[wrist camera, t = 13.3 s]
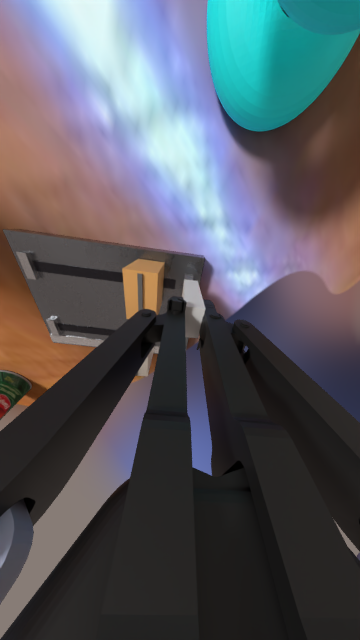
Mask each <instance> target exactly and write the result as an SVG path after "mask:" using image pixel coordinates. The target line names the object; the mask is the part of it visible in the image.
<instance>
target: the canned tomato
mask: <svg viewBox="0 0 360 640" xmlns="http://www.w3.org/2000/svg"><path fill="white" fill-rule="evenodd" d="M31 388H32V385H31V383H30V381H29V380H27V379H26V378H25V377H23V376H21V375H19V374H17V373H14V372H11V371H6V370H0V420H1V419H2V418H3V416H5V415H6V414H7V413H8V412H9V411H10V409H11V408H13V406H14V405H15V404H17V402H18V401H19V400H20V399H21V398H22V397H23V396H24V395H25V394H26V393H27V392H28V391H29V390H30V389H31Z"/></svg>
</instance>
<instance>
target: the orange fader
mask: <svg viewBox="0 0 360 640" xmlns="http://www.w3.org/2000/svg"><path fill="white" fill-rule="evenodd" d="M164 266H165V262H158V261H151V260H144V259H137V260H136V261H134V262H132V263H131V264H129V265H127V266H126V267H124V268H122V272H123V284H124V295H125V307H126V319H130V318H131V317H132V316H133V315H134V314H135V313H136V312H138V311H139V310H142V309H150V310H153V311H155V312H156V315H158V314H159V310H160V307H161V304H162V296H163V281H164Z"/></svg>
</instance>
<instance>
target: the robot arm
mask: <svg viewBox="0 0 360 640" xmlns="http://www.w3.org/2000/svg"><path fill="white" fill-rule="evenodd" d="M199 333H200V339H199V343H198V347H197V350H198V349H199V348H200V355H201V363H202V371H203V379H204V386H205V394H206V402H207V408H208V417H209V424H210V432H211V440H212V458H211V468H212V476H211V475H208V474H206V473H204V472H202V471H200V470H197V469H195V468H193V467H192V448H191V427H190V418H189V417H188V414H187V387H186V386H187V384H186V338H185V337H189V338H198V337H199ZM155 342H160V347H159V352H158V357H157V362H156V367H155V372H154V377H153V382H152V387H151V391H150V396H149V401H148V407H147V410H146V413H145V414H144V418H143V421H142V426H141V430H140V435H139V440H138V444H137V449H136V454H135V458H134V463H133V468H132V472H131V477H130V479H128V480H127V481H125V482H124V483H123V484H122V485H121V486H120V487H118V488H117V490H116V491H115V492H114V493H113V494H112V495H111V496H110V497H109V498H108V499H107V501H106V502H105V503H104V504H103V506H102V507H101V508H100V510H99V511H98V512H97V514H96V515H95V516H94V518H93V519H92V520H91V521H90V523H89V524H88V525H87V527H86V528H85V529H84V531H83V532H82V533H81V534H80V536H79V537H78V538H77V540H76V541H75V542H74V544H73V545H72V546H71V547H70V549H69V550H68V551H67V553H66V554H65V556H64V557H63V558H62V559H61V561H60V562H59V563H58V565H57V566H56V567H55V569H54V570H53V571H52V572H51V574H50V575H49V576H48V578H47V579H46V580H45V582H44V583H43V584H42V586H41V587H40V588H39V590H38V591H37V592H36V593H35V595H34V596H33V597H32V599H31V600H30V601H29V603H28V604H27V605H26V606H25V608H24V609H23V610H22V612H21V613H20V614H19V616H18V617H17V618H16V620H15V621H14V622H13V623H12V625H11V626H10V627H9V629H8V630H7V631H6V633H5V634H4V635H3V637H2V638H1V639H0V640H360V553H359V554H358V555H357V557H356V556H355V555H354V553H353V552H352V551H351V550H350V549H349V548H348V547H347V545H346V543H345V541H344V539H343V537H342V535H341V533H340V531H339V529H338V527H337V525H336V523H335V522H334V520H335V521H336V522H337V524H338V525H339V527H340V528H341V529H342V531H343V532H344V533H345V534H346V536H347V537H348V538H349V539H350V540H351V542H352V543H353V544H354V545H355V546H356V548H357V549H358V550H359V551H360V423H359V422H358V421H357V420H356V419H355V418H354V417H353V416H352V415H351V414H350V413H348V412H347V411H346V410H345V409H344V408H343V407H342V406H341V405H340V404H339V403H337V402H336V401H335V400H334V399H333V398H332V397H331V396H330V395H329V394H328V393H327V392H325V391H324V390H323V389H322V388H321V387H320V386H319V385H318V384H317V383H316V382H314V381H313V380H312V379H311V378H310V377H309V376H308V375H307V374H306V373H305V372H304V371H302V370H301V369H300V368H299V367H298V366H297V365H296V364H295V363H294V362H293V361H291V360H290V359H289V358H288V357H287V356H286V355H285V354H284V353H283V352H282V351H281V350H279V349H278V348H277V347H276V346H275V345H274V344H273V343H272V342H271V341H270V340H269V339H267V338H266V337H265V336H264V335H263V334H262V333H261V332H260V331H259V330H257V329H256V328H255V327H254V326H253V325H252V324H251V323H249V322H247V321H245V320H236V321H235V322H234V324H231V323H228V322H225V320H224V318H223V316H222V315H220V314H218V313H217V312H216V309H215V307H214V304H213V302H211V301H210V300H204V299H203V298H202V294H201V291H200V287H199V284H198V281H194V280H186V279H184V284H183V292H182V297H177V296H172V297H171V298H170V299H168V304H167V312H166V313H165V314H162V315H156V312H155V311H153V310H150V309H142V310H139V311H138V312H136V313H135V314H134V315H133V316H132V317H131V318H130V319H128V320H127V321H126V322H125V323H124V324H123V325H122V326H120V327H119V328H118V329H117V330H116V331H115V332H114V333H112V334H111V335H110V336H109V337H108V338H107V339H106V340H104V341H103V342H102V343H101V344H100V345H99V346H98V347H96V348H95V349H94V350H93V351H92V352H91V353H90V354H88V355H87V356H86V357H85V358H84V359H83V360H82V361H80V362H79V363H78V364H77V365H76V366H75V367H74V368H72V369H71V370H70V371H69V372H68V373H67V374H66V375H64V376H63V377H62V378H61V379H60V380H59V381H58V382H56V383H55V384H54V385H53V386H52V387H51V388H50V389H48V390H47V391H46V392H45V393H44V394H43V395H42V396H40V397H39V398H38V399H37V400H36V401H35V402H33V403H32V404H31V405H30V406H29V407H28V408H27V409H25V410H24V411H23V412H22V413H21V414H20V415H19V416H18V417H16V418H15V419H14V420H13V421H12V422H11V423H9V424H8V425H7V426H6V427H5V428H4V429H3V430H1V431H0V604H1V602H2V601H3V599H4V598H5V596H6V595H7V593H8V592H9V590H10V588H11V587H12V585H13V584H14V582H15V581H16V579H17V578H18V576H19V574H20V572H21V570H22V568H23V566H24V564H25V562H26V560H27V557H28V555H29V551H30V548H31V545H32V540H33V533H34V531H33V526H34V524H35V523H36V522H37V521H38V520H39V519H40V517H41V516H42V515H43V514H44V513H45V511H46V510H47V509H48V508H49V506H50V505H51V504H52V502H53V501H54V500H55V498H56V497H57V496H58V495H59V493H60V492H61V491H62V489H63V488H64V486H65V484H66V483H67V482H68V480H69V479H70V477H71V476H72V474H73V473H74V472H75V470H76V468H77V467H78V465H79V464H80V462H81V461H82V459H83V457H84V456H85V454H86V453H87V451H88V450H89V448H90V446H91V445H92V443H93V442H94V440H95V438H96V437H97V435H98V434H99V432H100V430H101V429H102V427H103V426H104V424H105V423H106V421H107V420H108V418H109V416H110V415H111V413H112V412H113V410H114V408H115V407H116V405H117V404H118V402H119V401H120V399H121V397H122V396H123V394H124V393H125V391H126V390H127V388H128V386H129V385H130V383H131V382H132V380H133V379H134V377H135V375H136V374H137V372H138V371H139V369H140V367H141V366H142V364H143V363H144V361H145V360H146V358H147V356H148V355H149V353H150V352H151V350H152V349H153V347H154V345H155ZM245 346H247V347H248V348H249V349H248V350H247V352H245V351H244V348H245ZM332 517H333V518H332ZM333 519H334V520H333Z"/></svg>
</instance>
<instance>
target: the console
mask: <svg viewBox="0 0 360 640" xmlns="http://www.w3.org/2000/svg"><path fill="white" fill-rule="evenodd" d="M3 231H4V233H5V236H6V238H7V240H8V242H9V245H10V247H11V249H12V251H13V253H14V256H15V258H16V260H17V262H18V264H19V267H20V269H21V271H22V273H23V275H24V278H25V280H26V282H27V284H28V287H29V289H30V291H31V293H32V295H33V298H34V300H35V302H36V304H37V306H38V309H39V311H40V313H41V315H42V317H43V320H44V322H45V324H46V326H47V329H48V331H49V333H50V337H51V339H52V341H53V342H54V343H63V344H72V345H82V346H91V347H98V346H99V345H100V344H101V343H102V342H103V341H104V340H106V339H107V338H108V337H109V336H110V335H111V334H112V333H114V332H115V331H116V330H117V329H118V328H119V327H120V326H122V325H123V324H124V323H125V322H126V321H127V320H128V319H126V307H125V295H124V284H123V272H122V268H124V267H126V266H127V265H129V264H131V263H132V262H134V261H136V260H137V259H144V260H151V261H158V262H165V266H164V281H163V296H162V304H161V307H160V310H159V314H158V315H162V314H165V313H166V312H167V304H168V299H170V298H171V297H172V296H177V297H182V292H183V284H184V279H186V280H194V281H198V284H199V285H200V280H201V275H202V270H203V265H204V260H205V258H204V256H202V255H195V254H188V253H181V252H174V251H167V250H160V249H153V248H146V247H139V246H132V245H125V244H118V243H111V242H104V241H97V240H90V239H83V238H76V237H69V236H62V235H55V234H48V233H41V232H34V231H28V230H16V229H3ZM185 338H186V348H187V343H188V338H189V337H185ZM159 347H160V342H155V345H154V353H155V354H158V352H159Z"/></svg>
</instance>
